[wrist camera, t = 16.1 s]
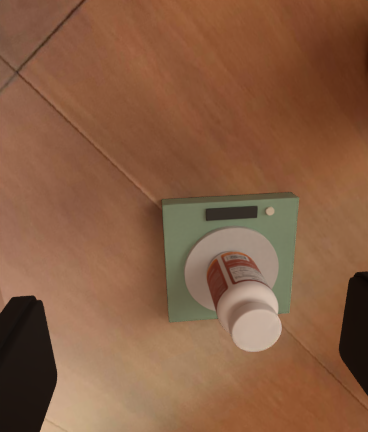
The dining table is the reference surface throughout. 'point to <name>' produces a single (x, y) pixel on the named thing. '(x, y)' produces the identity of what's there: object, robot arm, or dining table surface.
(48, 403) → the robot arm
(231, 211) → the scale
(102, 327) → the dining table surface
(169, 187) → the dining table surface
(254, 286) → the pill bottle
